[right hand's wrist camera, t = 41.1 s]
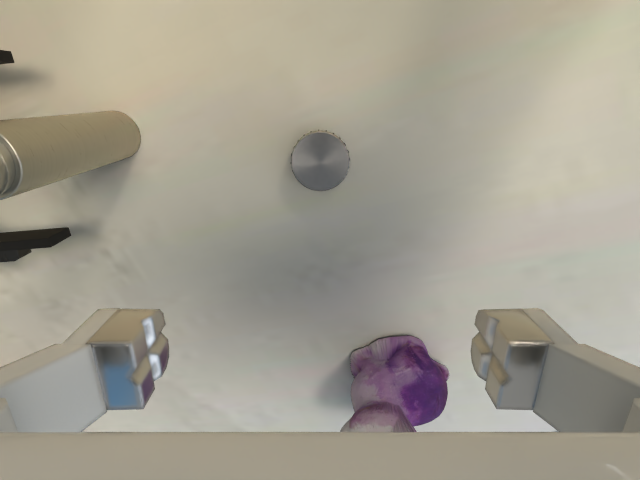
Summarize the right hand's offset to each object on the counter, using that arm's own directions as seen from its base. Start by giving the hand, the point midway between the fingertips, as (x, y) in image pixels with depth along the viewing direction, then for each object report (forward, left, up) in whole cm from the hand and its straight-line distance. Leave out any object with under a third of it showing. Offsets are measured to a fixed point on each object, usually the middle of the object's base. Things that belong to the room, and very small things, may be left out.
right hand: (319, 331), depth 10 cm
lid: (0, 0, -27) cm, 27 cm away
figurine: (+24, +6, -28) cm, 38 cm away
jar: (-3, -18, -28) cm, 34 cm away
